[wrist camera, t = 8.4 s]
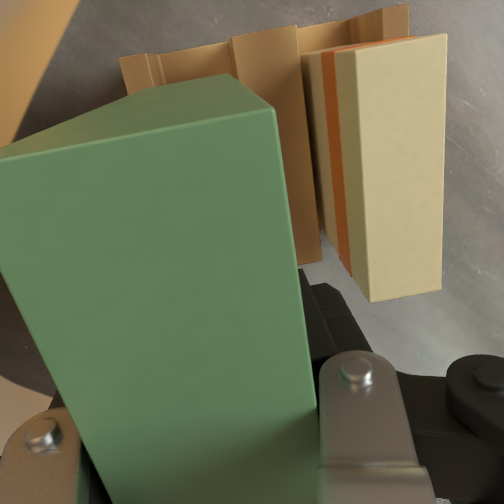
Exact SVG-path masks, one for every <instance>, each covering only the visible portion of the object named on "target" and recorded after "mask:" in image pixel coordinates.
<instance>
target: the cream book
mask: <svg viewBox="0 0 504 504" xmlns="http://www.w3.org/2000/svg"><path fill="white" fill-rule="evenodd" d="M300 62H301V71H302V80H303V90H304V99H305V108H306V117H307V126H308V135H309V144H310V153H311V162H312V171H313V180H314V189H315V198H316V207H317V216H318V223H319V225H320V226H321V228H322V230H323V231H324V233H325V234H326V236H327V237H328V239H329V240H330V242H331V244H332V245H333V247H334V248H335V250H336V251H337V253H338V255H339V258H340V260H341V262H342V263H343V265H344V266H345V268H346V270H347V271H348V273H349V274H350V276H351V277H353V278H354V280H355V281H356V283H357V284H358V286H359V287H360V289H361V291H362V292H363V294H364V295H365V297H366V298H367V300H368V302H369V303H375V302H380V301H385V300H390V299H396V298H401V297H406V296H411V295H417V294H422V293H427V292H432V291H438V290H441V269H442V229H443V188H444V148H445V108H446V67H447V34H445V33H444V34H435V35H427V36H419V37H415V36H407V37H399V38H392V39H387V40H382V41H376V42H369V43H360V44H352V45H344V46H337V47H332V48H327V49H322V50H316V51H311V52H306V53H300Z"/></svg>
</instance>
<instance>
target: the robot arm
mask: <svg viewBox="0 0 504 504" xmlns="http://www.w3.org/2000/svg"><path fill="white" fill-rule="evenodd" d="M298 274H299V281H300V288H301V295H302V302H303V309H304V317H305V324H306V331H307V338H308V345H309V352H310V359H311V366H312V373H313V380H314V388H315V395H316V402H317V409H318V416H319V423H320V465H318V466H317V504H437V502H436V498H443V499H449V501H450V502H451V503H452V504H504V358H501V357H498V356H492V355H482V354H481V355H469V356H465V357H462V358H459V359H457V360H456V361H454V362H453V363H452V364H451V365H450V366H449V368H448V370H447V373H446V377H436V376H418V375H410V374H405V373H402V372H398V371H396V370H395V369H394V367H393V365H392V364H391V363H390V362H389V361H388V360H386V359H385V358H384V357H382V356H380V355H378V354H375V353H373V351H372V349H371V347H370V346H369V344H368V342H367V340H366V338H365V336H364V335H363V333H362V331H361V329H360V327H359V326H358V324H357V322H356V320H355V318H354V317H353V316H352V313H351V311H350V309H349V308H348V306H347V305H346V302H345V300H344V299H343V297H342V295H341V293H340V291H338V290H337V289H335V288H333V287H332V286H330V285H329V284H327V283H322V284H317V285H312V286H310V285H309V282H308V280H307V278H306V275H305V273H304V271H303V269H302V268H301V269H298ZM0 504H113V503H112V501H111V499H110V497H109V495H108V493H107V491H106V489H105V487H104V485H103V483H102V481H101V479H100V477H99V475H98V472H97V470H96V468H95V466H94V464H93V462H92V460H91V458H90V456H89V454H88V452H87V450H86V448H85V446H84V444H83V441H82V439H81V437H80V435H79V433H78V431H77V429H76V427H75V425H74V423H73V421H72V419H71V417H70V415H69V413H68V410H67V408H66V406H65V404H64V402H63V400H62V398H61V396H60V394H59V392H58V390H57V391H56V393H55V396H54V398H53V400H52V402H51V404H50V406H49V408H48V410H46V411H44V412H41V413H39V414H37V415H35V416H34V417H32V418H30V419H29V420H28V421H26V422H25V423H23V424H22V425H21V426H20V427H19V428H18V429H17V430H16V431H15V432H14V433H13V434H12V435H11V437H10V438H9V439H8V441H7V443H6V444H5V447H4V449H3V453H2V456H0Z"/></svg>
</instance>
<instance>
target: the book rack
mask: <svg viewBox="0 0 504 504" xmlns="http://www.w3.org/2000/svg"><path fill="white" fill-rule="evenodd" d="M407 36H409V4H402V5H397V6H392V7H386V8H382V9H378V10H375V11H372V12H369V13H366V14H362V15H359V16H356V17H353V18H350V19H345V20H340V21H334V22H329V23H324V24H318V25H313V26H308V27H302V28H297V26H296V25H291V26H286V27H280V28H275V29H270V30H264V31H259V32H254V33H248V34H243V35H238V36H233V37H231V38H230V40H229V41H228V42H223V43H218V44H212V45H207V46H202V47H197V48H191V49H186V50H181V51H175V52H170V53H165V54H159V55H158V54H149V53H142V54H137V55H132V56H126V57H121V58H118V61H119V65H120V68H121V72H122V75H123V79H124V83H125V86H126V90H127V93H128V95H131V94H133V93H136V92H138V91H141V90H143V89H146V88H151V87H156V86H162V85H167V84H172V83H177V82H183V81H188V80H193V79H198V78H204V77H209V76H214V75H219V74H225V73H228V74H230V75H231V76H232V77H234V78H235V79H236V80H238V81H239V82H240V83H242V84H243V85H244V86H246V87H247V88H248V89H250V90H251V91H252V92H254V93H255V94H256V95H258V96H259V97H260V98H262V99H263V100H264V101H266V102H267V103H268V104H270V105H271V106H272V107H274V109H275V111H276V118H277V125H278V132H279V139H280V146H281V153H282V160H283V167H284V174H285V182H286V189H287V196H288V203H289V210H290V217H291V224H292V231H293V238H294V246H295V253H296V260H297V265H303V264H308V263H313V262H319V261H322V252H321V243H320V234H319V223H318V216H317V207H316V198H315V189H314V180H313V171H312V162H311V153H310V144H309V135H308V126H307V117H306V108H305V99H304V90H303V80H302V71H301V62H300V53H306V52H311V51H316V50H322V49H327V48H332V47H337V46H344V45H352V44H360V43H369V42H376V41H382V40H387V39H392V38H399V37H407Z"/></svg>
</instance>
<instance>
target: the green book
mask: <svg viewBox="0 0 504 504" xmlns="http://www.w3.org/2000/svg"><path fill="white" fill-rule="evenodd" d="M0 272H1V274H2V276H3V278H4V280H5V282H6V284H7V287H8V289H9V291H10V293H11V295H12V297H13V299H14V301H15V303H16V305H17V307H18V309H19V311H20V313H21V315H22V318H23V320H24V322H25V324H26V326H27V328H28V330H29V332H30V334H31V336H32V338H33V340H34V342H35V344H36V346H37V349H38V351H39V353H40V355H41V357H42V359H43V361H44V363H45V365H46V367H47V369H48V371H49V373H50V375H51V377H52V379H53V382H54V384H55V386H56V388H57V390H58V392H59V394H60V396H61V398H62V400H63V402H64V404H65V406H66V408H67V410H68V413H69V415H70V417H71V419H72V421H73V423H74V425H75V427H76V429H77V431H78V433H79V435H80V437H81V439H82V441H83V444H84V446H85V448H86V450H87V452H88V454H89V456H90V458H91V460H92V462H93V464H94V466H95V468H96V470H97V472H98V475H99V477H100V479H101V481H102V483H103V485H104V487H105V489H106V491H107V493H108V495H109V497H110V499H111V501H112V503H113V504H317V466H318V465H320V423H319V416H318V409H317V402H316V395H315V388H314V380H313V373H312V366H311V359H310V352H309V345H308V338H307V331H306V324H305V317H304V309H303V302H302V295H301V288H300V281H299V274H298V267H297V260H296V253H295V246H294V238H293V231H292V224H291V217H290V210H289V203H288V196H287V189H286V182H285V174H284V167H283V160H282V153H281V146H280V139H279V132H278V125H277V118H276V111H275V109H274V107H272V106H271V105H270V104H268V103H267V102H266V101H264V100H263V99H262V98H260V97H259V96H258V95H256V94H255V93H254V92H252V91H251V90H250V89H248V88H247V87H246V86H244V85H243V84H242V83H240V82H239V81H238V80H236V79H235V78H234V77H232V76H231V75H230V74H228V73H225V74H219V75H214V76H209V77H204V78H198V79H193V80H188V81H183V82H177V83H172V84H167V85H162V86H156V87H151V88H146V89H143V90H141V91H138V92H136V93H133V94H131V95H128V96H126V97H124V98H121V99H119V100H116V101H114V102H111V103H109V104H106V105H104V106H102V107H99V108H97V109H94V110H92V111H89V112H87V113H85V114H82V115H80V116H77V117H75V118H72V119H70V120H68V121H65V122H63V123H60V124H58V125H55V126H53V127H51V128H48V129H46V130H43V131H41V132H38V133H36V134H34V135H31V136H29V137H26V138H24V139H21V140H19V141H16V142H14V143H12V144H9V145H7V146H5V147H2V148H0Z"/></svg>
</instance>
